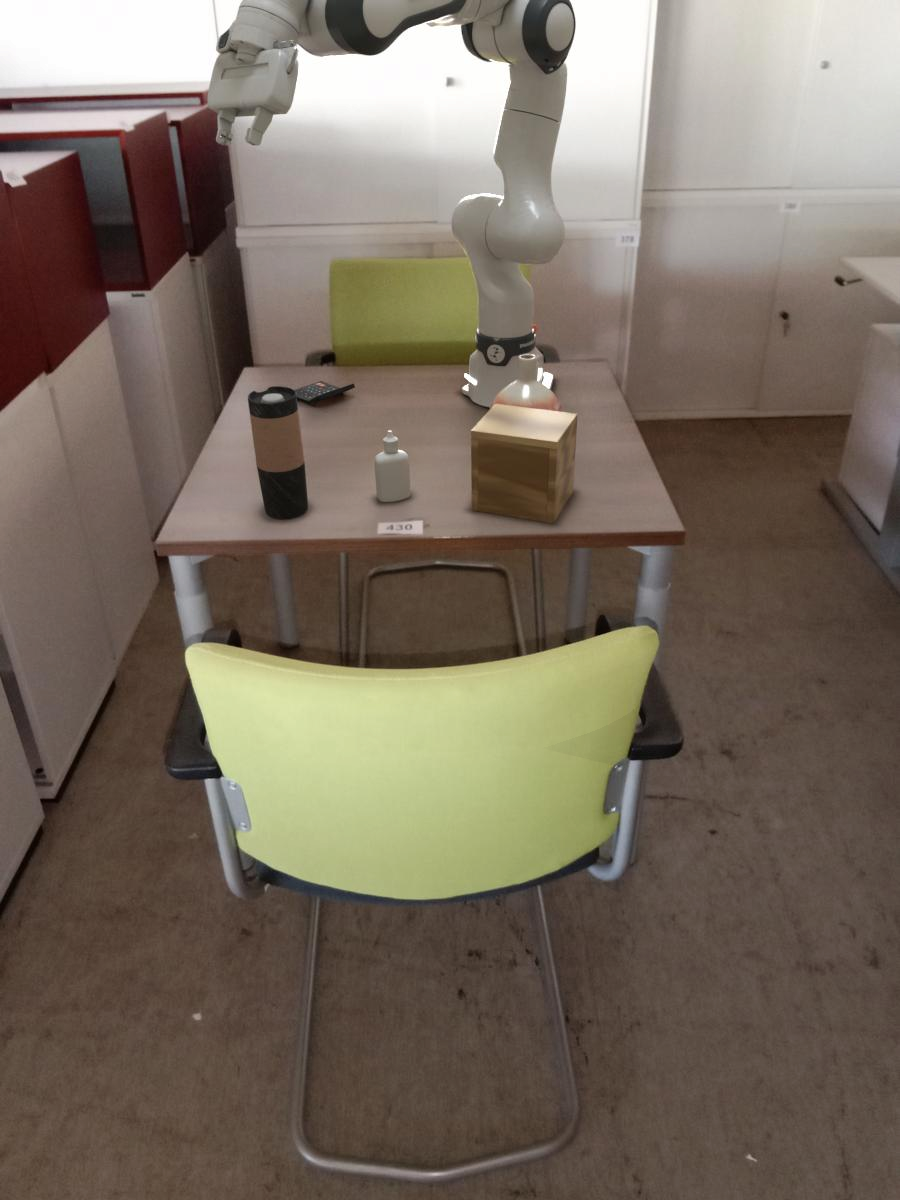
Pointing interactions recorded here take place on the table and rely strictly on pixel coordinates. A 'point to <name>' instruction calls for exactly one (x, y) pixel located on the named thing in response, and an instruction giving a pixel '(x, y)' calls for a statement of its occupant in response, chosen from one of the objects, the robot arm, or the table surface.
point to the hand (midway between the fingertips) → (236, 144)
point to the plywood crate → (523, 462)
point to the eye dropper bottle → (392, 471)
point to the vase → (527, 389)
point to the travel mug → (279, 452)
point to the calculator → (319, 392)
